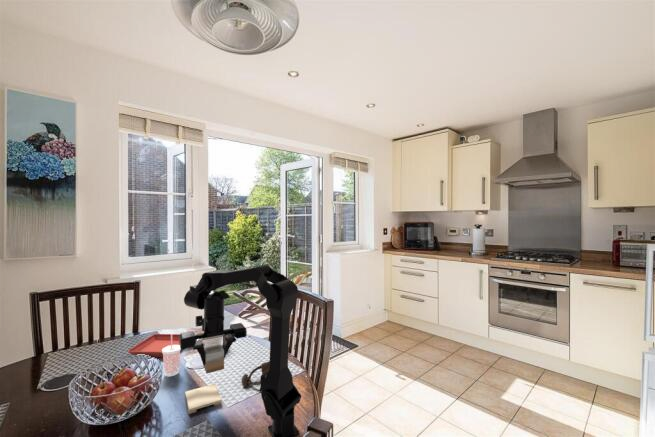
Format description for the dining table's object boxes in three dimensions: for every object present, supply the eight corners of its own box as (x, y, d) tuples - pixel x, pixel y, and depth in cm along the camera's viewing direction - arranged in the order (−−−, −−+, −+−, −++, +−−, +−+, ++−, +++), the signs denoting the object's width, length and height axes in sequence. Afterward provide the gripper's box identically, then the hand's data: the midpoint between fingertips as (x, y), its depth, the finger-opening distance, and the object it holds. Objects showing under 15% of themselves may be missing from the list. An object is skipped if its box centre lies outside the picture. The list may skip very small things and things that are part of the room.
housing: (224, 369, 91) (224, 350, 91) (206, 373, 88) (206, 354, 88) (220, 360, 96) (219, 343, 96) (203, 364, 94) (203, 346, 93)
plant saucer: (154, 340, 138) (154, 333, 138) (193, 341, 137) (193, 334, 137) (126, 359, 120) (126, 351, 120) (171, 360, 119) (171, 352, 119)
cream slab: (221, 404, 91) (221, 399, 91) (189, 414, 86) (189, 409, 86) (215, 388, 100) (215, 383, 100) (185, 396, 95) (185, 391, 95)
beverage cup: (158, 377, 106) (158, 338, 106) (167, 368, 112) (167, 331, 112) (176, 377, 106) (176, 337, 106) (184, 368, 112) (184, 331, 112)
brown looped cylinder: (275, 376, 97) (284, 356, 107) (237, 370, 99) (250, 350, 108) (275, 395, 99) (284, 373, 108) (238, 388, 100) (250, 367, 110)
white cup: (202, 344, 133) (202, 322, 132) (221, 341, 136) (221, 319, 136) (203, 352, 125) (203, 328, 125) (223, 348, 129) (223, 325, 129)
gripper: (238, 300, 103) (237, 345, 104) (177, 308, 94) (177, 358, 94) (247, 310, 94) (246, 360, 94) (181, 320, 84) (180, 375, 85)
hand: (213, 362), depth 92 cm, fingers closed on housing, 5 cm apart
